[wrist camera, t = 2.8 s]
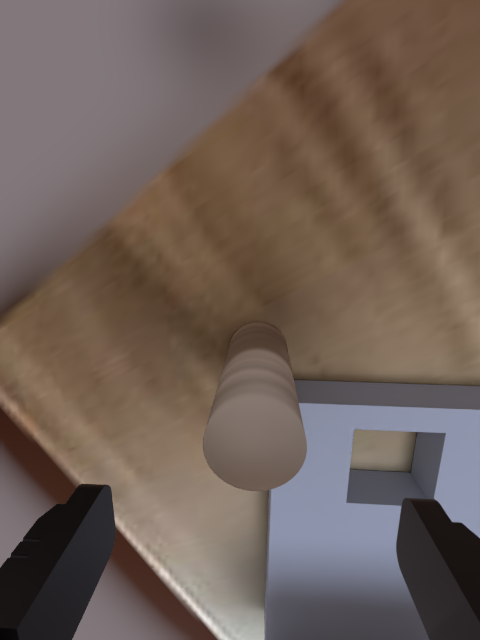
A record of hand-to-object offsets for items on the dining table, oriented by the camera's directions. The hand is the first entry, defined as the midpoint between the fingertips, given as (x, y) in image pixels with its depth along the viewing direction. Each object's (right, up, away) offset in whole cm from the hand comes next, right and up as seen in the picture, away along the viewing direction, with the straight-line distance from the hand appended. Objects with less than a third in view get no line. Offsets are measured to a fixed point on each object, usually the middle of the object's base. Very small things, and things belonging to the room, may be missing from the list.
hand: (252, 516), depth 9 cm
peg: (+1, +4, +12) cm, 13 cm away
